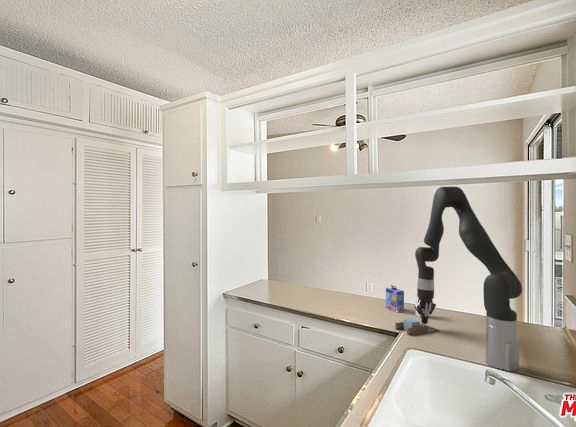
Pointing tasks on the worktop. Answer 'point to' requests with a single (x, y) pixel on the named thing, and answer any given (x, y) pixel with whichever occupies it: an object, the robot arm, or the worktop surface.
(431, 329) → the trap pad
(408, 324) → the block
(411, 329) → the channel
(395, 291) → the ink cartridge box
